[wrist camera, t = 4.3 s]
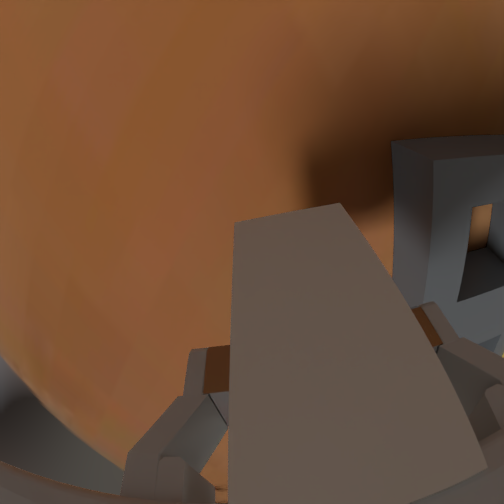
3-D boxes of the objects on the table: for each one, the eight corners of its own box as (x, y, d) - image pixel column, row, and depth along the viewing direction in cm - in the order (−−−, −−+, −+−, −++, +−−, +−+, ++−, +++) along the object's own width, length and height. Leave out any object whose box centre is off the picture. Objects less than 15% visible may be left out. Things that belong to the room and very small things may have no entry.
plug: (234, 222, 12) (227, 533, 3) (340, 202, 11) (488, 467, 3) (255, 304, 14) (270, 546, 5) (345, 286, 13) (424, 512, 5)
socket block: (390, 141, 14) (437, 162, 10) (548, 135, 13) (590, 154, 9) (379, 388, 23) (393, 429, 20) (501, 343, 22) (521, 373, 18)
